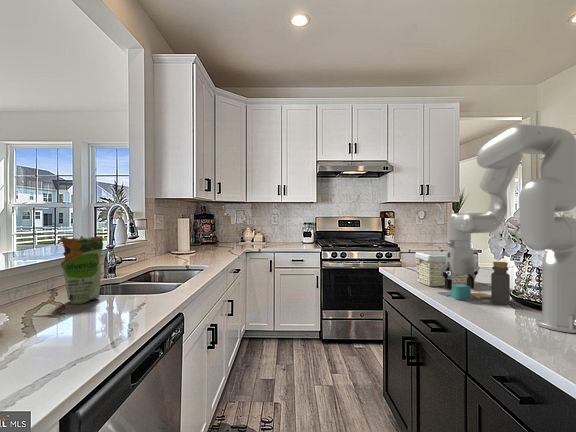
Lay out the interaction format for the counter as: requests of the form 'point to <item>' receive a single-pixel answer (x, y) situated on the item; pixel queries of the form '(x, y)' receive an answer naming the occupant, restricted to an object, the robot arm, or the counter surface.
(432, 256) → the storage basket
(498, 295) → the bottle
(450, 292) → the mat
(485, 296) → the board
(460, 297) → the cube
